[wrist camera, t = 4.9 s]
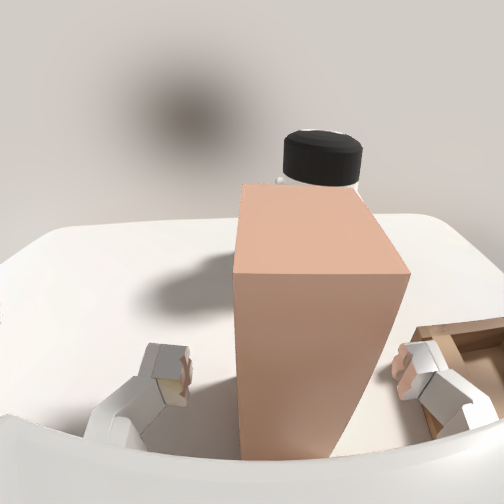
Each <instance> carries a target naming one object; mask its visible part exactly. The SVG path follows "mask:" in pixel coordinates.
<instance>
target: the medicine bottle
mask: <svg viewBox="0 0 504 504" xmlns="http://www.w3.org/2000/svg"><path fill="white" fill-rule="evenodd" d="M362 150H363V148H362V146H361V144H360V143H359V142H358V141H357V140H355V139H354V138H352V137H351V136H349V135H346V134H342V133H338V132H333V131H327V130H315V129H309V130H308V129H307V130H299V131H296V132H294V133H291V134H289V135H288V136H287V137H286V138H285V140H284V159H283V177H278V178H276V180H275V185H306V186H329V187H347V188H354V190H355V191H356V192H357V189H358V181H359V174H360V166H361V158H362ZM357 194H358V195H359V193H358V192H357ZM359 197H360V195H359ZM360 198H361V197H360ZM362 201H363V200H362Z"/></svg>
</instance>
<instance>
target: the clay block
mask: <svg viewBox="0 0 504 504" xmlns="http://www.w3.org/2000/svg"><path fill="white" fill-rule="evenodd" d="M410 275H411V273H410V271H409V270H408V268H407V266H406V265H405V263H404V262H403V260H402V258H401V257H400V255H399V254H398V252H397V251H396V249H395V247H394V246H393V244H392V243H391V241H390V240H389V238H388V237H387V235H386V234H385V232H384V231H383V229H382V228H381V226H380V225H379V224H378V222H377V221H376V219H375V218H374V216H373V215H372V213H371V212H370V211H369V209H368V208H367V206H366V205H365V204H364V202H363V201H362V199H361V198H360V197H359V195H358V194H357V192H356V191H355V190H354V188H347V187H329V186H306V185H270V184H242V193H241V202H240V211H239V219H238V228H237V237H236V246H235V256H234V265H233V300H234V327H235V351H236V373H237V394H238V414H239V432H240V450H241V460H248V461H279V460H305V459H319V458H329V456H330V455H331V453H332V451H333V449H334V448H335V446H336V444H337V442H338V441H339V439H340V437H341V435H342V433H343V432H344V430H345V428H346V426H347V424H348V422H349V420H350V419H351V417H352V415H353V413H354V411H355V409H356V407H357V405H358V403H359V401H360V399H361V397H362V395H363V393H364V391H365V389H366V386H367V384H368V382H369V380H370V378H371V376H372V374H373V371H374V369H375V367H376V365H377V362H378V360H379V358H380V355H381V353H382V351H383V348H384V346H385V344H386V341H387V339H388V336H389V334H390V331H391V329H392V326H393V323H394V321H395V318H396V316H397V313H398V310H399V307H400V305H401V302H402V299H403V296H404V293H405V290H406V288H407V285H408V282H409V279H410Z"/></svg>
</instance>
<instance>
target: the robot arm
mask: <svg viewBox="0 0 504 504" xmlns="http://www.w3.org/2000/svg"><path fill="white" fill-rule="evenodd" d="M2 318H3V315H2V310H1V305H0V323H1V321H2ZM398 352H399V354H398V355H397V356H395V357H394V359H393V362H392V368H391V370H392V376H393V379H394V380H395V381H396V382H398V385H397V391H398V395H399V398H400V401H403V400H411V399H418V398H419V399H418V400H419V401H420V402H421V403H422V404H423V405H424V406H425V407H426V408H427V409H428V410H429V411H430V413H431V414H432V415H433V416H434V417H435V418H436V419H437V420H438V421H439V422H440V423H441V424H442V425H443V426H444V428H443V429H442V430H441V431H440V432H439V433H438V434H437V436H436V438H437V439H436V440H432V441H428V442H423V443H419V444H415V445H410V446H405V447H400V448H395V449H390V450H384V451H378V452H372V453H365V454H358V455H350V456H341V457H331V458H319V459H305V460H279V461H248V460H222V459H207V458H196V457H186V456H177V455H169V454H162V453H155V452H148V448H147V446H146V445H145V443H144V441H143V440H142V438H141V437H140V434H141V433H142V432H143V431H144V430H145V429H146V428H147V427H148V426H149V425H150V423H151V422H152V421H153V420H154V419H155V418H156V417H157V416H158V415H159V413H160V412H161V411H162V410H163V409H164V408H165V407H166V406H179V407H187V405H188V399H189V388H188V386H189V385H190V384H191V381H192V370H193V369H192V361H191V359H189V355H190V351H189V347H187V346H177V345H167V344H156V343H149V344H148V345H147V347H146V350H145V353H144V357H143V360H142V363H141V366H140V369H139V373H138V376H133V377H132V378H131V379H130V380H128V381H127V382H126V383H125V384H123V385H122V386H121V387H120V388H119V389H117V390H116V391H115V392H114V393H113V394H111V395H110V396H109V397H108V398H106V399H105V400H104V401H103V402H101V403H100V404H99V405H98V406H97V407H95V408H94V409H93V410H92V412H91V415H90V418H89V421H88V424H87V427H86V430H85V433H84V436H83V438H82V437H79V436H75V435H71V434H68V433H65V432H61V431H58V430H55V429H52V428H48V427H45V426H42V425H39V424H37V423H34V422H31V421H28V420H26V419H23V418H20V417H18V416H15V415H12V414H6V415H4V416H1V417H0V504H504V418H502V419H499V420H498V417H497V415H496V412H495V410H494V408H493V405H492V403H491V401H490V399H489V397H488V396H487V395H485V394H484V393H483V392H482V391H480V390H479V389H478V388H476V387H475V386H474V385H472V384H471V383H470V382H468V381H467V380H466V379H465V378H463V377H462V376H461V375H459V374H458V373H457V372H455V371H454V370H453V369H449V368H448V365H447V363H446V361H445V359H444V357H443V355H442V353H441V351H440V349H439V347H438V345H437V343H436V341H434V340H431V341H420V342H411V343H402V344H401V345H400V346H399V348H398ZM165 405H166V406H165Z"/></svg>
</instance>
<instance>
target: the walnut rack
mask: <svg viewBox="0 0 504 504" xmlns="http://www.w3.org/2000/svg"><path fill="white" fill-rule="evenodd" d="M431 340H434V341H436V343H437V345H438V347H439V349H440V351H441V353H442V355H443V357H444V359H445V361H446V363H447V365H448V368H449V369H453V370H454V371H455V372H457V373H458V374H459V375H461V376H462V377H463V378H465V379H466V380H467V381H468V382H470V383H471V384H472V385H474V386H475V387H476V388H478V389H479V390H480V391H482V392H483V393H484V394H485V395H487V396H488V397H489V399H490V401H491V403H492V405H493V408H494V410H495V412H496V415H497V417H498V420H499V419H502V418H504V317H500V318H493V319H485V320H478V321H469V322H461V323H452V324H442V325H432V326H421V327H417V328H416V330H415V332H414V335H413V337H412V339H411V341H410V343H411V342H420V341H431ZM421 404H422V403H421ZM422 407H423V410H424V413H425V416H426V419H427V423H428V426H429V429H430V432H431V435H432V439H433V440H436V439H437V438H436V436H437V434H438V433H439V432H440V431H441V430H442V429H443V428H444V426H443V425H442V424H441V423H440V422H439V421H438V420H437V419H436V418H435V417H434V416H433V415H432V414H431V413H430V411H429V410H428V409H427V408H426V407H425V406H424V405H423V404H422Z"/></svg>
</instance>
